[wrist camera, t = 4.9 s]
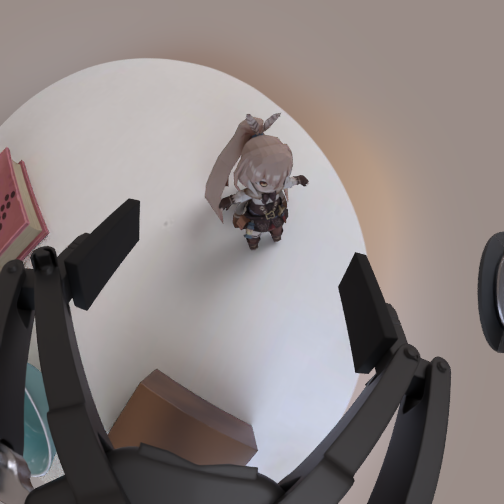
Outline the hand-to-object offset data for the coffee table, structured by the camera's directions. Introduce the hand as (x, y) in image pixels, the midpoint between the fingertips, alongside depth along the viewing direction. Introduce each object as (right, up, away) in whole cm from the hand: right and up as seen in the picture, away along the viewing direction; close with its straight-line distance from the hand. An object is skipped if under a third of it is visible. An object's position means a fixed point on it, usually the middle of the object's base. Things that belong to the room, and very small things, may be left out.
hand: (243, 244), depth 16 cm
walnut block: (-8, -21, +9) cm, 24 cm away
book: (-35, +3, +11) cm, 37 cm away
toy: (0, +4, +15) cm, 15 cm away
